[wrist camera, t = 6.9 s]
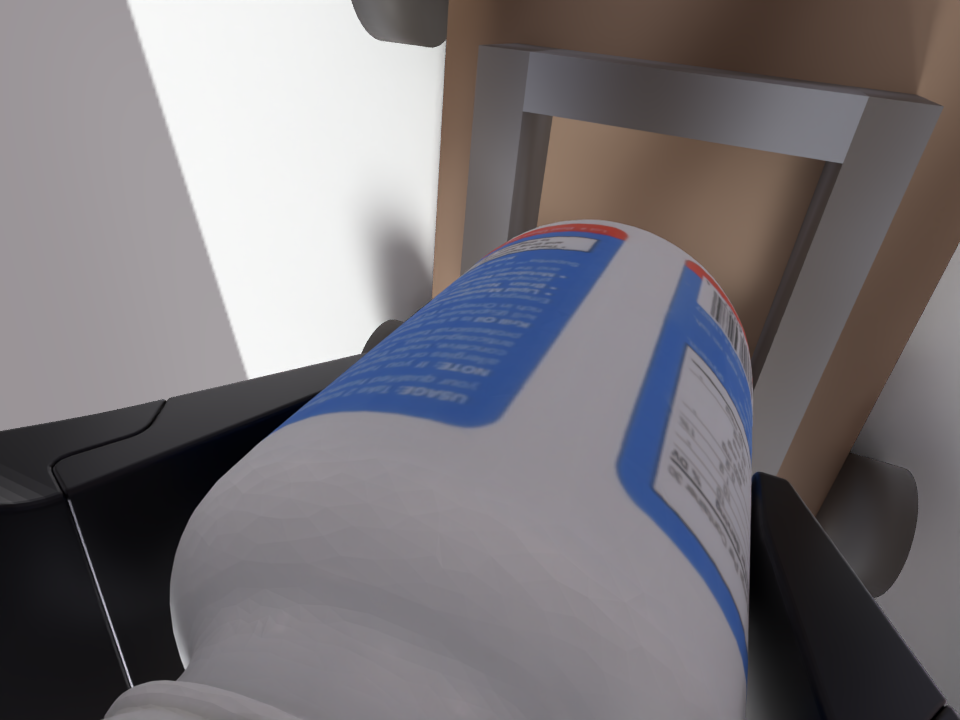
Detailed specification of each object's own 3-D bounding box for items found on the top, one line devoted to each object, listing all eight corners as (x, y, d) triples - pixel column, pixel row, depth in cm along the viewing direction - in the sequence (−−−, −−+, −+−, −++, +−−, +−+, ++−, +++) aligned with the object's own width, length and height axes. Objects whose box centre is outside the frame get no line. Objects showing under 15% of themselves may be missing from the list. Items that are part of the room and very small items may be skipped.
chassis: (1254, -169, 10) (1448, -249, 7) (835, 560, 19) (846, 653, 16) (425, -180, 15) (340, -231, 12) (404, 412, 24) (354, 465, 21)
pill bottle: (431, 400, 13) (-86, 956, 5) (509, 161, 10) (-439, 617, 2) (665, 526, 12) (469, 1449, 4) (829, 303, 9) (1217, 2070, 1)
